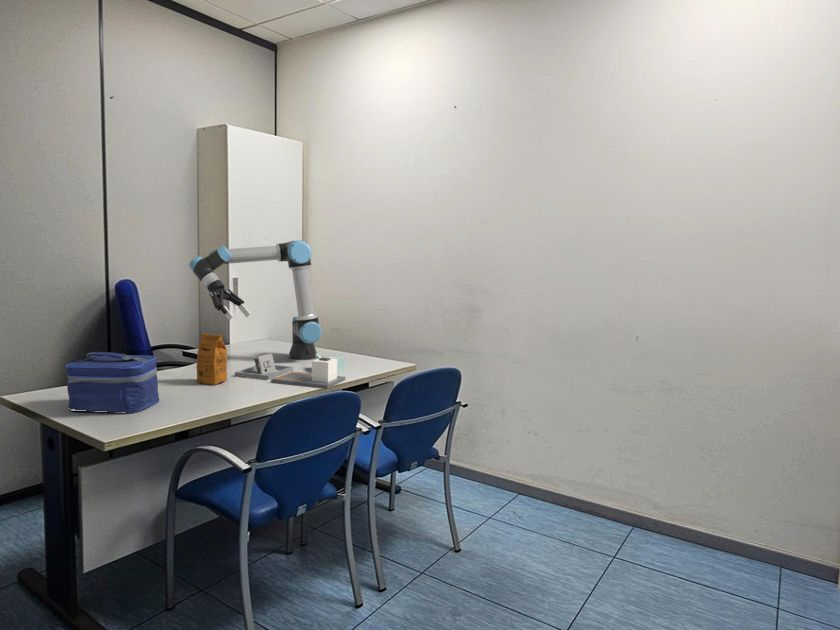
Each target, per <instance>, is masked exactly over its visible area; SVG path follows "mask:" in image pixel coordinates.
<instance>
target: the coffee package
mask: <svg viewBox="0 0 840 630" xmlns="http://www.w3.org/2000/svg"><path fill="white" fill-rule="evenodd" d="M223 337H224V336H223V334H209V333H205V332H203V333H202V335H201V338H200V342H199V345H198V349H197V357H196V383H197V382H199V383H198V384H204V385H206V384H209V385H208V386H216V385H218V384H219V383H224V382H227V381H228V377H227V376H228V372H227V370H228V368H227V367H228V357H227V355H228V349H227V348H226V345H225V342H224V341H223Z"/></svg>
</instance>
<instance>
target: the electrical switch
mask: <svg viewBox="0 0 840 630" xmlns="http://www.w3.org/2000/svg"><path fill="white" fill-rule="evenodd" d="M254 363H255V366H256V368H257V370H256V372H257V373H256V374H263V375H269V374H272V373H275V372H277V370H276V369H275V365H276V364H275V362H274V357H273V353H268V354H262V355H259V356H258V355H257V356H256V358H254ZM258 366H259V367H258Z"/></svg>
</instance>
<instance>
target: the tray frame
mask: <svg viewBox="0 0 840 630" xmlns="http://www.w3.org/2000/svg"><path fill="white" fill-rule="evenodd" d="M274 365H275V369H277V370H276V372H274V373H270V374H266V375H263V374H258V373H252V372H255V371H257V368H256V365H252V366H250V367H247V368H244V369H243V368H242V369H241V370H237V371H235V372H234V376H235V377H236V376H240V377H239V378H246V377H249V378H248V379H255V378H256V379H258V380H266V381H269V380H271V379H273V378H275V377H278V376H280V375H283V374H285V373H288V372H290V371H291V372H294V366H291V365H290V366H289V365H279V364H274ZM258 367H259V366H258ZM254 370H255V371H254ZM251 371H252V372H251ZM248 372H249V373H248Z"/></svg>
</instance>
